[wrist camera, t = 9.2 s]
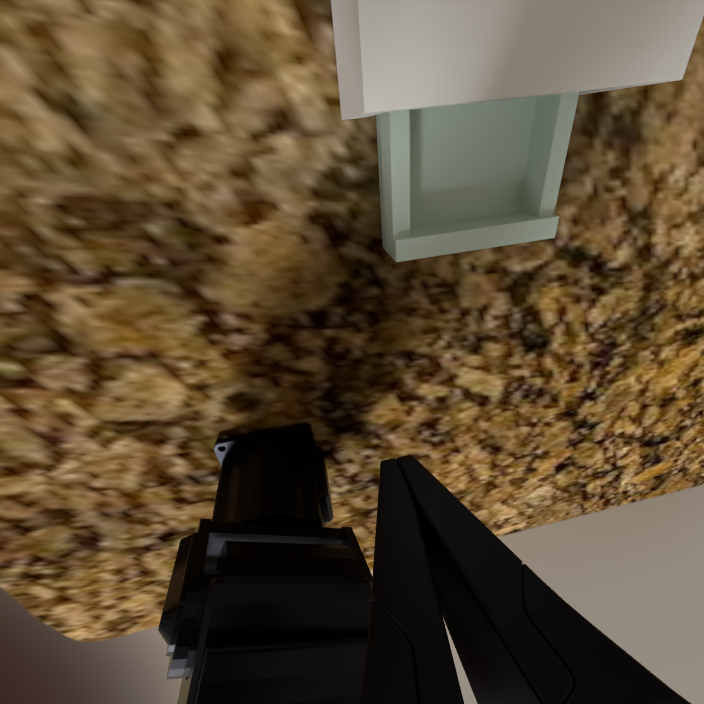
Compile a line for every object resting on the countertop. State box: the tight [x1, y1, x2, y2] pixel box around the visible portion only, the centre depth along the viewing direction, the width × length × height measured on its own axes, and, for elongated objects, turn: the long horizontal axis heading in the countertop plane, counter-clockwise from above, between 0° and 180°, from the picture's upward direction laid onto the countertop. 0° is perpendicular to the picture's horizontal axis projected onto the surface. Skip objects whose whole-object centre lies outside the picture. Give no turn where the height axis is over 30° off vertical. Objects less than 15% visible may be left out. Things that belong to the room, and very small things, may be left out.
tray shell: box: [376, 92, 579, 262], centre depth 14 cm, size 8×12×3 cm, turn 6°
